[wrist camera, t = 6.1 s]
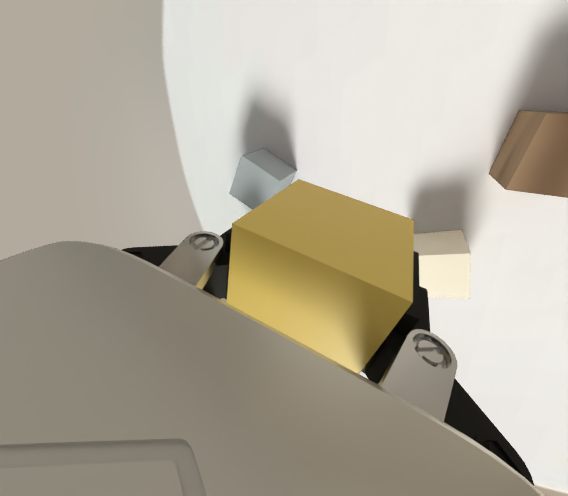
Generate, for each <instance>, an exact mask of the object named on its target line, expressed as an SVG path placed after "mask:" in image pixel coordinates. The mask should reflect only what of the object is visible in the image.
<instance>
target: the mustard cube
mask: <svg viewBox="0 0 568 496" xmlns="http://www.w3.org/2000/svg"><path fill="white" fill-rule="evenodd" d="M413 254H414V220H412V219H409V218H407V217H404V216H401V215H398V214H395V213H393V212H390V211H387V210H384V209H381V208H378V207H376V206H373V205H370V204H367V203H364V202H361V201H359V200H356V199H353V198H350V197H347V196H344V195H342V194H339V193H336V192H333V191H330V190H328V189H325V188H322V187H319V186H316V185H313V184H311V183H308V182H305V181H302V180H297V181H296V182H294V183H293V184H291V185H289V186H288V187H286V188H285V189H283V190H282V191H280V192H279V193H277V194H276V195H274V196H273V197H271V198H270V199H268V200H267V201H265V202H264V203H262V204H261V205H259V206H258V207H256V208H255V209H253V210H252V211H250V212H249V213H247V214H246V215H244V216H243V217H241V218H240V219H238V220H237V221H235V222H234V223H232V235H231V249H230V263H229V277H228V290H227V303H228V304H230V305H232V306H234V307H236V308H237V309H239V310H241V311H243V312H245V313H247V314H249V315H250V316H252V317H254V318H256V319H258V320H260V321H262V322H263V323H265V324H267V325H269V326H271V327H273V328H275V329H276V330H278V331H280V332H282V333H284V334H286V335H288V336H289V337H291V338H293V339H295V340H297V341H299V342H301V343H302V344H304V345H306V346H308V347H310V348H312V349H313V350H315V351H317V352H319V353H321V354H323V355H324V356H326V357H328V358H330V359H332V360H334V361H335V362H337V363H339V364H341V365H343V366H345V367H347V368H348V369H350V370H352V371H354V372H356V373H358V374H359V373H360V372H361V371H362V369H363V368H364V367H365V365H366V364H367V363H368V361H369V360H370V359H371V357H372V356H373V355H374V353H375V352H376V351H377V349H378V348H379V347H380V345H381V344H382V343H383V341H384V340H385V339H386V337H387V336H388V335H389V333H390V332H391V331H392V329H393V328H394V327H395V325H396V324H397V323H398V321H399V320H400V319H401V317H402V316H403V315H404V313H405V312H406V311H407V309H408V308H409V307H410V305H411V304H412V303H413Z"/></svg>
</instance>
